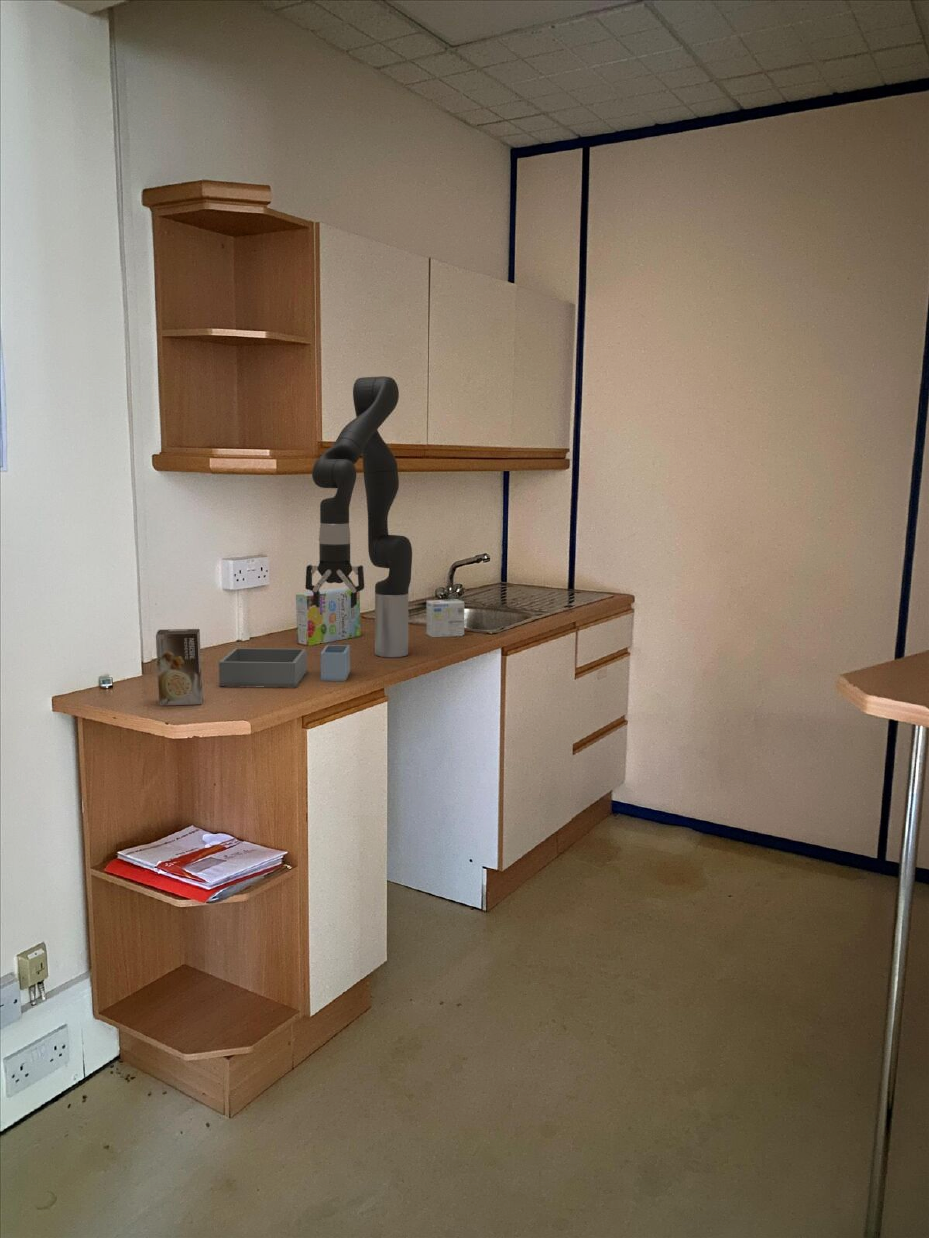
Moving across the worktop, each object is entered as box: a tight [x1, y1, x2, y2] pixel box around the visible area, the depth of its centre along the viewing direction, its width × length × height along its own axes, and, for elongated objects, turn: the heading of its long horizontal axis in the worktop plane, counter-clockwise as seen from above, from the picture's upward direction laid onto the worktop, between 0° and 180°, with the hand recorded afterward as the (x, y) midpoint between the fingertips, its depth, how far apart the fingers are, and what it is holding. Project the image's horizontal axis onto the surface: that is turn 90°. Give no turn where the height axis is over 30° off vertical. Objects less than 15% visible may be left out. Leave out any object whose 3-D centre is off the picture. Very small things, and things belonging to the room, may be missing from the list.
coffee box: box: [155, 628, 204, 707], centre depth 216 cm, size 9×6×16 cm
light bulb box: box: [425, 598, 465, 639], centre depth 301 cm, size 11×7×11 cm, turn 111°
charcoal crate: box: [218, 647, 308, 689], centre depth 239 cm, size 17×18×6 cm
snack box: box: [295, 586, 362, 647], centre depth 290 cm, size 21×6×15 cm, turn 141°
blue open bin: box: [320, 644, 351, 682], centre depth 243 cm, size 10×6×7 cm, turn 0°
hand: (335, 607), depth 241 cm, fingers open, 8 cm apart
